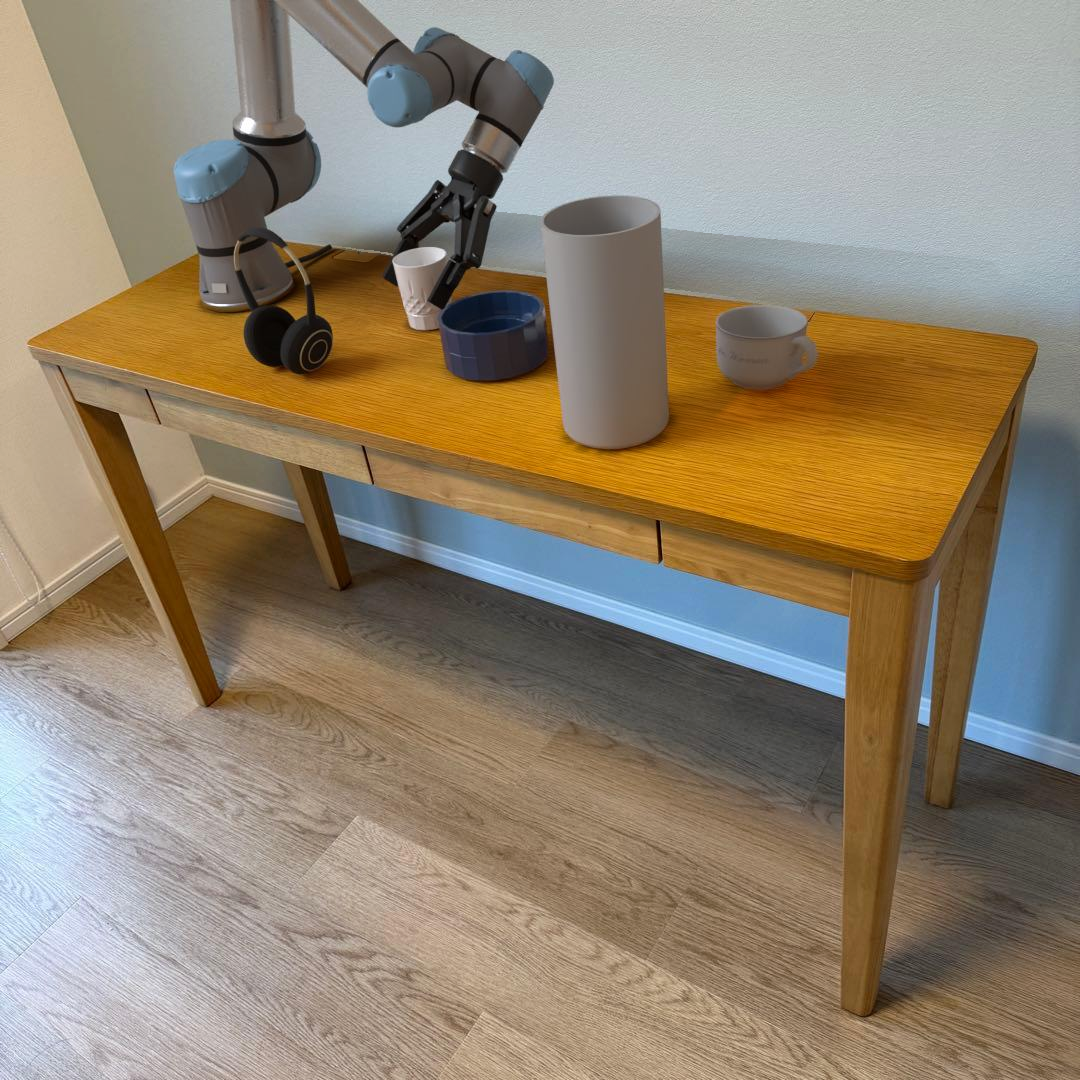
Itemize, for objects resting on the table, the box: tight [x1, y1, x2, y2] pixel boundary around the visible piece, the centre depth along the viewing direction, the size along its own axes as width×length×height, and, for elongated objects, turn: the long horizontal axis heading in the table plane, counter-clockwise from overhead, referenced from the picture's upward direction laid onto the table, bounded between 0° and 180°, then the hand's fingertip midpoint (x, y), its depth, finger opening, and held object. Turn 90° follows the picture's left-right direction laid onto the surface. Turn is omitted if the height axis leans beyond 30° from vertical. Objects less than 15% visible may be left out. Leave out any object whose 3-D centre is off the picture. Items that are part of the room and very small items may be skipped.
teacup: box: [715, 304, 819, 391], centre depth 120 cm, size 14×11×8 cm
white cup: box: [392, 246, 453, 331], centre depth 147 cm, size 8×8×10 cm
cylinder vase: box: [539, 194, 670, 450], centre depth 111 cm, size 12×12×25 cm
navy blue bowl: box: [437, 289, 550, 382], centre depth 135 cm, size 14×14×7 cm
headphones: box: [234, 228, 334, 376], centre depth 136 cm, size 9×15×20 cm, turn 54°
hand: (411, 293), depth 146 cm, fingers open, 13 cm apart
